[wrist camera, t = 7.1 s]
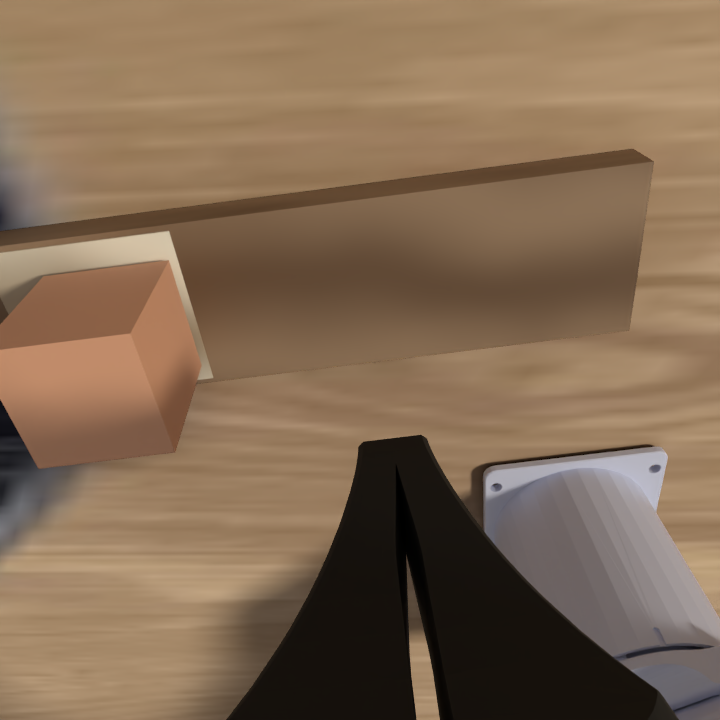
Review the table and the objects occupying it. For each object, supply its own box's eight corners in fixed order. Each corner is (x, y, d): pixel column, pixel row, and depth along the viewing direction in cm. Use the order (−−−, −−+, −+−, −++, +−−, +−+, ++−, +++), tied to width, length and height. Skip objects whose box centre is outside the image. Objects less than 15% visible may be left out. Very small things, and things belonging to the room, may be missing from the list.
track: (612, 310, 23) (629, 331, 22) (41, 381, 24) (25, 405, 22) (632, 148, 20) (654, 162, 18) (-31, 235, 20) (-55, 253, 19)
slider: (201, 365, 21) (175, 452, 18) (89, 379, 21) (38, 468, 18) (168, 260, 19) (130, 333, 15) (43, 276, 19) (-26, 352, 15)
